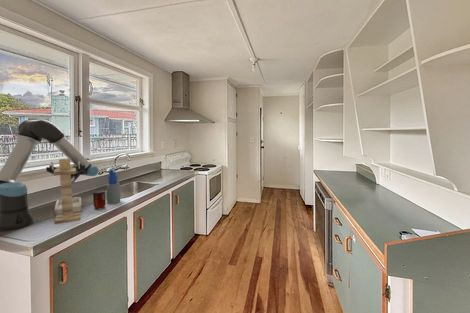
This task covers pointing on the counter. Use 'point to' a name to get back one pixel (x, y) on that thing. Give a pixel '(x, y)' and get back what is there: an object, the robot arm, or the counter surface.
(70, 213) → the stand
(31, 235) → the counter surface
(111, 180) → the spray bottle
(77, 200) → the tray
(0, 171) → the robot arm
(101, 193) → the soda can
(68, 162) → the wooden block
